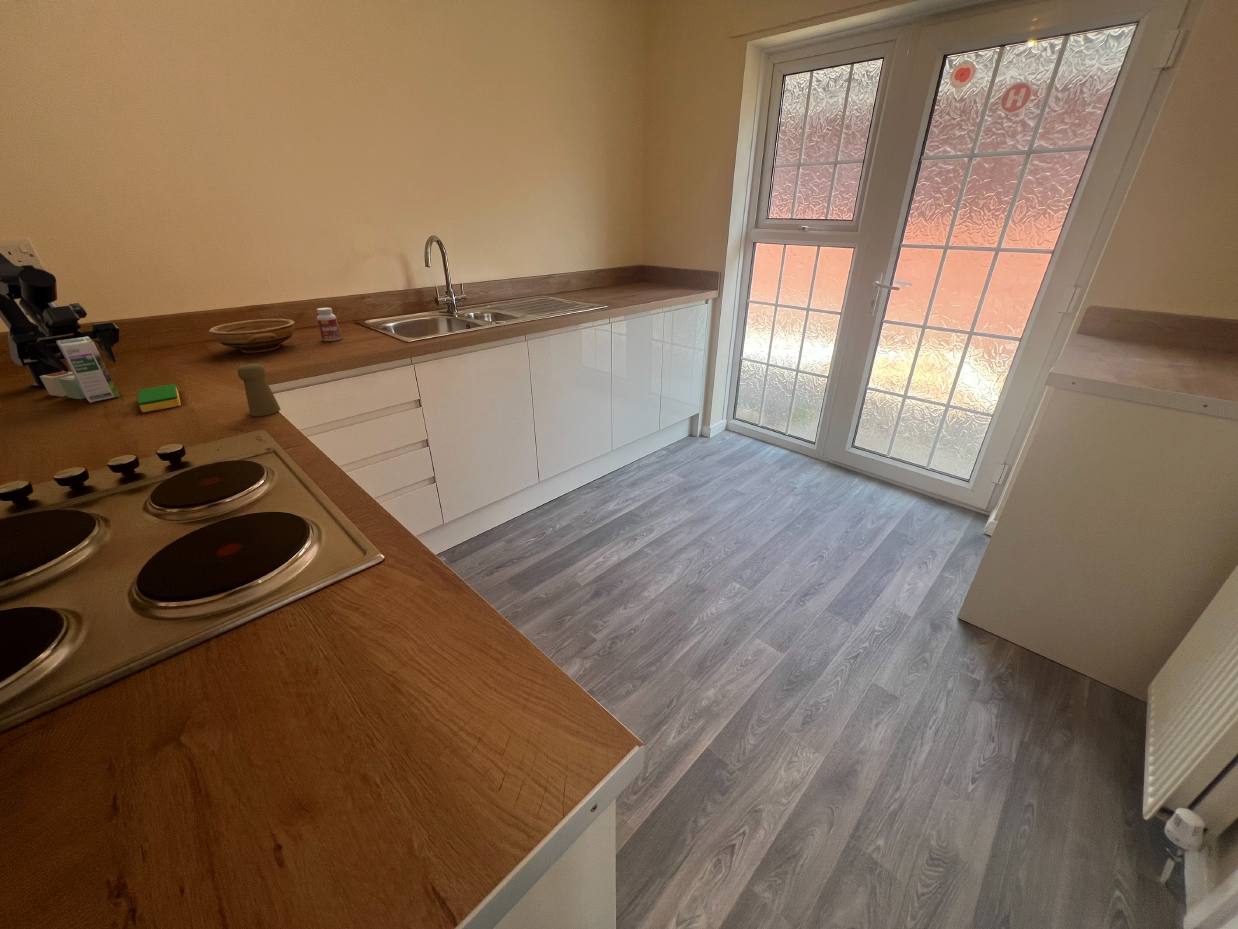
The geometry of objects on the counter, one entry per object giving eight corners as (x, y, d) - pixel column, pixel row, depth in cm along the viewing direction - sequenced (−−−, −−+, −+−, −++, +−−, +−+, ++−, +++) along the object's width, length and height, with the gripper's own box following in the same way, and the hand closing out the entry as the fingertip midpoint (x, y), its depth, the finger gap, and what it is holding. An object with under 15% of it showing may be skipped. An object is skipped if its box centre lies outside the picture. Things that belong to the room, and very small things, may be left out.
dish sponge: (178, 392, 130) (174, 383, 128) (181, 405, 120) (177, 396, 119) (142, 398, 125) (138, 389, 124) (142, 413, 116) (137, 403, 115)
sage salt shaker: (248, 418, 112) (230, 370, 107) (251, 409, 117) (235, 363, 112) (279, 413, 115) (263, 366, 110) (281, 405, 120) (266, 360, 115)
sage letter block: (67, 397, 127) (57, 378, 125) (91, 391, 131) (82, 372, 129) (80, 399, 125) (70, 379, 123) (104, 393, 130) (94, 374, 127)
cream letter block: (49, 395, 129) (39, 375, 127) (73, 389, 133) (63, 370, 131) (61, 396, 128) (51, 377, 125) (85, 390, 132) (75, 371, 130)
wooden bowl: (311, 349, 170) (304, 325, 166) (225, 363, 155) (215, 337, 152) (289, 336, 189) (283, 315, 186) (211, 347, 175) (202, 324, 171)
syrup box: (89, 403, 123) (60, 345, 115) (83, 396, 126) (54, 339, 118) (120, 397, 127) (93, 341, 119) (113, 390, 130) (87, 335, 122)
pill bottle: (324, 342, 180) (315, 310, 175) (321, 339, 184) (312, 308, 180) (342, 339, 183) (334, 308, 178) (340, 337, 188) (332, 306, 183)
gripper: (-12, 298, 109) (36, 354, 110) (97, 288, 124) (139, 337, 124) (-6, 332, 116) (40, 384, 116) (97, 318, 131) (137, 364, 131)
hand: (91, 366), depth 122 cm, fingers open, 9 cm apart
